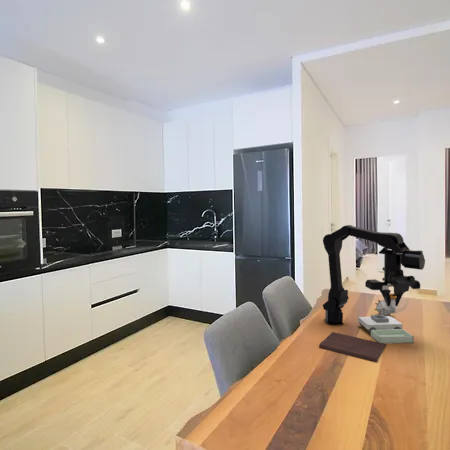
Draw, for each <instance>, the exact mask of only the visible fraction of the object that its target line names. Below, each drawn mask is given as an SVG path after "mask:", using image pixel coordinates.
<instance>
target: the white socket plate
mask: <svg viewBox="0 0 450 450" xmlns="http://www.w3.org/2000/svg"><path fill="white" fill-rule="evenodd" d="M357 321H358V323H359V325H360V326H361V327H362V326H363V327H364V328H365V329H366V330H367V332H368V333H369V334H370V335H371V330H389V329H403V323H401V321H398V320H397V319H395V318H394V317H392V315H391V316H390V315H388V316H384V315H381V314H371V315H370V316H358V319H357Z"/></svg>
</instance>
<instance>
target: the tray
mask: <svg viewBox="0 0 450 450" xmlns="http://www.w3.org/2000/svg"><path fill="white" fill-rule="evenodd" d="M370 337H371V338H372V339H373V340H375V342H379V343H384V344H414V340H415V339H414V335H413V334H411V333H410V332H408V331H407V330H406V329H403V328H402V329H377V330H371V334H370Z"/></svg>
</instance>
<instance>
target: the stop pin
mask: <svg viewBox="0 0 450 450" xmlns="http://www.w3.org/2000/svg"><path fill="white" fill-rule="evenodd" d="M389 296H390V305H389V312H390V313H391V314H396V311H397V310H396V309H397V308H396V307H397V306H396V298H397V294H394V293H391V292H390V294H389Z"/></svg>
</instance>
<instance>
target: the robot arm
mask: <svg viewBox="0 0 450 450" xmlns="http://www.w3.org/2000/svg"><path fill="white" fill-rule="evenodd" d="M350 236H351V237H354V238H358V239H361V240H366V241H369V242H372V243H375V244H377V245H379V246H380V247H382V249H381V250H379V251H378V255H380V254H381V255H384V257H383V259H384V262H383V263H384V266H383V267H382V271H383V274H384V276H383V277H382V279H381V280H382V281H380V280H378V279H375V278H374V279H366V281H365V282H364V284H365V286H364V287H365V288H368V289H369V290H371V291H379V292H380V293H381V296H382V297H383V300H385V302H386V305H387V306H388V307H389V305H390V296H389V294H390V293H391V292H392V290H390V288H392V287H393V294H397V298H396V307H398V306H399V303H400V301H401V298H402V297H403V295H404V293H406V292H409V290H410V288H411V289H413V290H420V289H421V283H420V281H419V280H417V279H416V277H415V276H414V275H404V270H403V269H402V266H403V268H405V269H413V270H421V271H423V270H424V268H425V263H426V259H425V255H424V254H423V253H424V252H423V250H413V249H410V248H409V246H407V244H406V243H405V241H404V238H403V235H402V234H400V233H397V232H380V231H375V230H371V229H366V228H362V227H358V226H353V225H352V224H348V225H343V226H342V227H340V228H339V229H337V230H335V231H333V232H331V233H329V234H328V233H327V234H325V235H324V237H322V238H323V239H322V243H323V248H324V250H325V252H326V253H327V255H328V267H329V269H328V270H329V281H330V288H329V290H328V293H327V294H328V296H327V300H326V301H325V302H324V303H323V304H322V308H323V310H324V311H325V318H324V319H323V320H324V321H325V323H326V324H327V325H330V326H331V325H332V326H334V325H335V326H337V325H339V326H340V325H344V323H343V322H344V319H343V317H344V313H343V308H344V307H345V305H346V304H347V303H348V300H350V298H349V294H348V293H349V291H348V289H345V288H344V287H343V279H342V278H343V276H342V268H341V265H342V264H341V254H340V253H341V250H342V247H343V241H344V240H346V239H347V238H348V237H350Z"/></svg>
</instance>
